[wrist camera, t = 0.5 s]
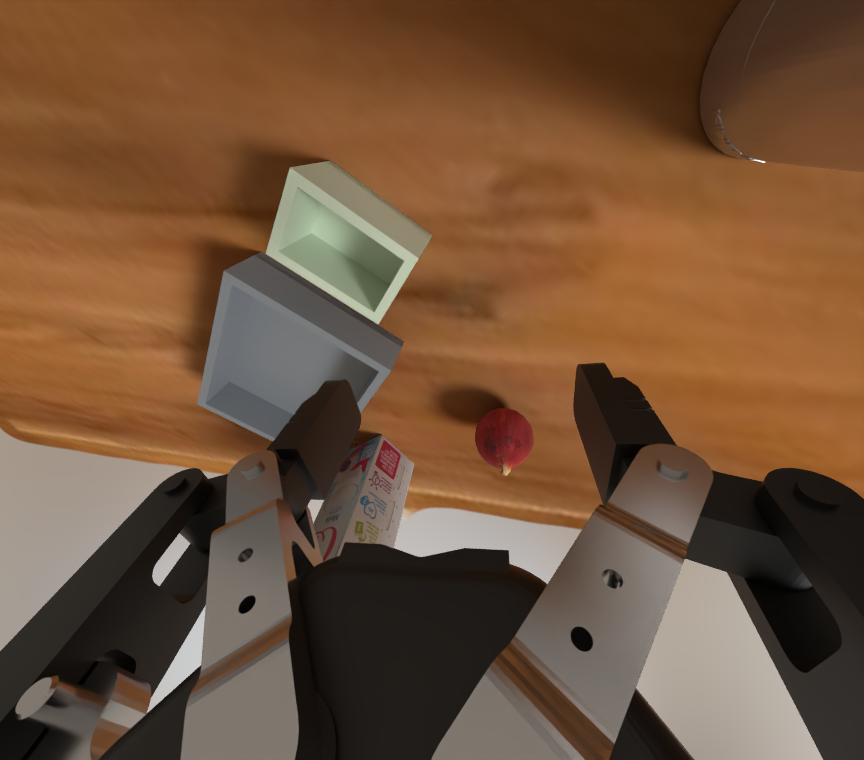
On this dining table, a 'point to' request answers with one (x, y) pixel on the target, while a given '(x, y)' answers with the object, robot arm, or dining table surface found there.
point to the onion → (504, 439)
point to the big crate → (285, 347)
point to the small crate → (344, 238)
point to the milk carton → (364, 498)
